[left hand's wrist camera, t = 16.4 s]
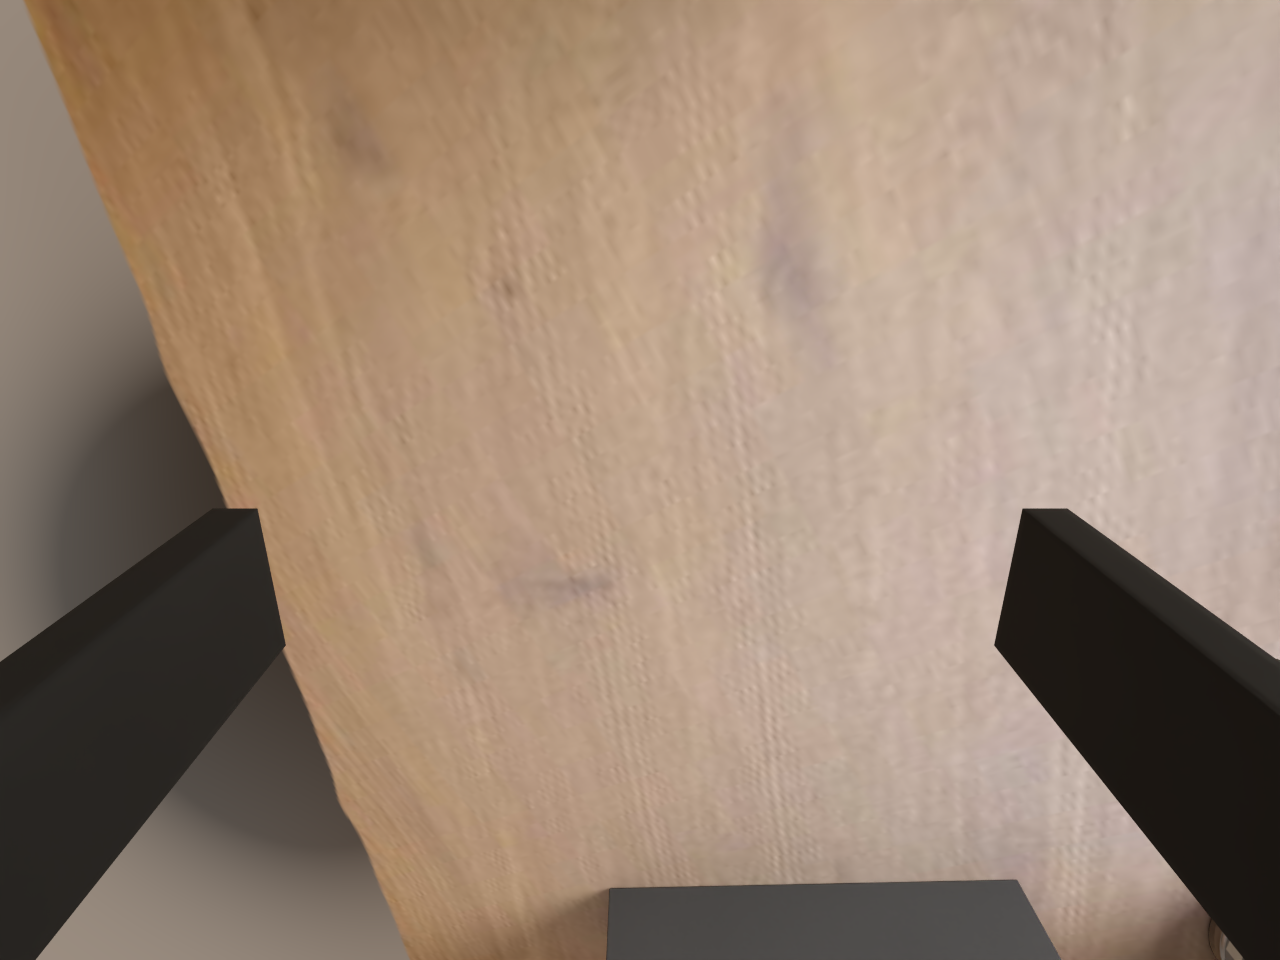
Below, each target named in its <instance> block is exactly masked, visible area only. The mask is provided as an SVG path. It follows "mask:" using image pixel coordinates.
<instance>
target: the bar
mask: <svg viewBox="0 0 1280 960" xmlns="http://www.w3.org/2000/svg"><path fill="white" fill-rule="evenodd" d="M606 960H1061V958H1060V956H1059V955H1058V953H1057V951H1056V949H1055V947H1054V946H1053V944H1052V942H1051V940H1050V938H1049V937H1048V935H1047V933H1046V931H1045V929H1044V928H1043V926H1042V924H1041V922H1040V920H1039V919H1038V917H1037V915H1036V913H1035V911H1034V910H1033V908H1032V906H1031V904H1030V902H1029V901H1028V899H1027V897H1026V895H1025V893H1024V892H1023V890H1022V888H1021V886H1020V884H1019V883H1018V881H1017V880H985V881H938V882H892V883H845V884H798V885H751V886H704V887H657V888H611V889H609V909H608V932H607V955H606Z"/></svg>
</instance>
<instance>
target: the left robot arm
mask: <svg viewBox="0 0 1280 960" xmlns="http://www.w3.org/2000/svg"><path fill="white" fill-rule="evenodd" d="M285 646H286V644H285V639H284V634H283V630H282V625H281V620H280V615H279V610H278V606H277V601H276V596H275V591H274V586H273V582H272V577H271V572H270V567H269V562H268V557H267V553H266V548H265V543H264V538H263V533H262V529H261V524H260V519H259V514H258V509H212V510H210V511H209V512H207V513H206V514H205V515H203V516H202V517H200V518H199V519H198V520H196V521H195V522H193V523H192V524H191V525H189V526H188V527H187V528H185V529H184V530H182V531H181V532H180V533H178V534H177V535H175V536H174V537H173V538H171V539H170V540H169V541H167V542H166V543H164V544H163V545H162V546H160V547H159V548H157V549H156V550H155V551H153V552H152V553H151V554H149V555H148V556H146V557H145V558H144V559H142V560H141V561H140V562H138V563H137V564H135V565H134V566H132V567H131V568H130V569H128V570H127V571H126V572H124V573H123V574H121V575H120V576H119V577H117V578H116V579H114V580H113V581H112V582H110V583H109V584H108V585H106V586H105V587H103V588H102V589H101V590H99V591H98V592H96V593H95V594H94V595H92V596H91V597H90V598H88V599H87V600H85V601H84V602H83V603H81V604H80V605H78V606H77V607H76V608H74V609H73V610H72V611H70V612H69V613H67V614H66V615H65V616H63V617H62V618H60V619H59V620H58V621H56V622H55V623H54V624H52V625H51V626H49V627H48V628H47V629H45V630H44V631H43V632H41V633H40V634H38V635H37V636H36V637H34V638H33V639H31V640H30V641H29V642H27V643H26V644H24V645H23V646H22V647H20V648H19V649H17V650H16V651H15V652H13V653H12V654H11V655H9V656H8V657H6V658H5V659H4V660H2V661H1V662H0V960H36V958H37V957H38V956H39V955H40V953H41V952H42V951H43V950H44V948H45V947H46V946H47V945H48V943H49V942H50V941H51V940H52V938H53V937H54V936H55V934H56V933H57V932H58V931H59V930H60V928H61V927H62V926H63V924H64V923H65V922H66V921H67V919H68V918H69V917H70V916H71V914H72V913H73V912H74V911H75V909H76V908H77V907H78V906H79V904H80V903H81V902H82V901H83V899H84V898H85V897H86V896H87V894H88V893H89V892H90V891H91V889H92V888H93V887H94V886H95V884H96V883H97V882H98V881H99V879H100V878H101V877H102V876H103V874H104V873H105V872H106V870H107V869H108V868H109V867H110V865H111V864H112V863H113V862H114V860H115V859H116V858H117V857H118V855H119V854H120V853H121V852H122V850H123V849H124V848H125V847H126V845H127V844H128V843H129V842H130V840H131V839H132V838H133V837H134V835H135V834H136V833H137V832H138V830H139V829H140V828H141V826H142V825H143V824H144V823H145V821H146V820H147V819H148V818H149V816H150V815H151V814H152V813H153V811H154V810H155V809H156V808H157V806H158V805H159V804H160V803H161V801H162V800H163V799H164V798H165V796H166V795H167V794H168V793H169V791H170V790H171V789H172V788H173V786H174V785H175V784H176V783H177V781H178V780H179V779H180V777H181V776H182V775H183V774H184V772H185V771H186V770H187V769H188V767H189V766H190V765H191V764H192V762H193V761H194V760H195V759H196V757H197V756H198V755H199V754H200V752H201V751H202V750H203V749H204V747H205V746H206V745H207V744H208V742H209V741H210V740H211V739H212V737H213V736H214V735H215V734H216V732H217V731H218V730H219V729H220V727H221V726H222V725H223V723H224V722H225V721H226V720H227V718H228V717H229V716H230V715H231V713H232V712H233V711H234V710H235V708H236V707H237V706H238V705H239V703H240V702H241V701H242V700H243V698H244V697H245V696H246V695H247V693H248V692H249V691H250V690H251V688H252V687H253V686H254V685H255V683H256V682H257V681H258V680H259V678H260V677H261V676H262V675H263V673H264V672H265V671H266V669H267V668H268V667H269V666H270V664H271V663H272V662H273V661H274V659H275V658H276V657H277V656H278V654H279V653H280V652H281V651H282V649H283V648H284V647H285ZM994 646H995V647H996V648H997V649H998V651H999V652H1000V653H1001V654H1002V656H1003V657H1004V658H1005V659H1006V661H1007V662H1008V663H1009V664H1010V666H1011V667H1012V668H1013V669H1014V671H1015V672H1016V673H1017V675H1018V676H1019V677H1020V678H1021V680H1022V681H1023V682H1024V683H1025V685H1026V686H1027V687H1028V688H1029V690H1030V691H1031V692H1032V693H1033V695H1034V696H1035V697H1036V698H1037V700H1038V701H1039V702H1040V703H1041V705H1042V706H1043V707H1044V708H1045V710H1046V711H1047V712H1048V713H1049V715H1050V716H1051V717H1052V718H1053V720H1054V721H1055V722H1056V724H1057V725H1058V726H1059V727H1060V729H1061V730H1062V731H1063V732H1064V734H1065V735H1066V736H1067V737H1068V739H1069V740H1070V741H1071V742H1072V744H1073V745H1074V746H1075V747H1076V749H1077V750H1078V751H1079V752H1080V754H1081V755H1082V756H1083V757H1084V759H1085V760H1086V761H1087V762H1088V764H1089V765H1090V766H1091V767H1092V769H1093V770H1094V771H1095V773H1096V774H1097V775H1098V776H1099V778H1100V779H1101V780H1102V781H1103V783H1104V784H1105V785H1106V786H1107V788H1108V789H1109V790H1110V791H1111V793H1112V794H1113V795H1114V796H1115V798H1116V799H1117V800H1118V801H1119V803H1120V804H1121V805H1122V806H1123V808H1124V809H1125V810H1126V811H1127V813H1128V814H1129V815H1130V816H1131V818H1132V819H1133V820H1134V821H1135V823H1136V824H1137V825H1138V827H1139V828H1140V829H1141V830H1142V832H1143V833H1144V834H1145V835H1146V837H1147V838H1148V839H1149V840H1150V842H1151V843H1152V844H1153V845H1154V847H1155V848H1156V849H1157V850H1158V852H1159V853H1160V854H1161V855H1162V857H1163V858H1164V859H1165V860H1166V862H1167V863H1168V864H1169V865H1170V867H1171V868H1172V869H1173V870H1174V872H1175V873H1176V874H1177V876H1178V877H1179V878H1180V879H1181V881H1182V882H1183V883H1184V884H1185V886H1186V887H1187V888H1188V889H1189V891H1190V892H1191V893H1192V894H1193V896H1194V897H1195V898H1196V899H1197V901H1198V902H1199V903H1200V904H1201V906H1202V907H1203V908H1204V909H1205V911H1206V912H1207V913H1208V914H1209V916H1210V917H1211V918H1212V919H1213V921H1214V922H1215V923H1216V925H1217V926H1218V927H1219V928H1220V930H1221V931H1222V932H1223V933H1224V935H1225V936H1226V937H1227V938H1228V940H1229V941H1230V942H1231V943H1232V945H1233V946H1234V947H1235V948H1236V950H1237V951H1238V952H1239V953H1240V955H1241V956H1242V957H1243V958H1244V960H1280V660H1278V659H1275V658H1274V657H1272V656H1271V655H1269V654H1268V653H1267V652H1265V651H1264V650H1263V649H1261V648H1260V647H1258V646H1257V645H1256V644H1254V643H1253V642H1251V641H1250V640H1249V639H1247V638H1246V637H1245V636H1243V635H1242V634H1240V633H1239V632H1238V631H1236V630H1235V629H1233V628H1232V627H1231V626H1229V625H1228V624H1226V623H1225V622H1224V621H1222V620H1221V619H1220V618H1218V617H1217V616H1215V615H1214V614H1213V613H1211V612H1210V611H1208V610H1207V609H1206V608H1204V607H1203V606H1202V605H1200V604H1199V603H1197V602H1196V601H1195V600H1193V599H1192V598H1190V597H1189V596H1188V595H1186V594H1185V593H1184V592H1182V591H1181V590H1179V589H1178V588H1177V587H1175V586H1174V585H1172V584H1171V583H1170V582H1168V581H1167V580H1166V579H1164V578H1163V577H1161V576H1160V575H1159V574H1157V573H1156V572H1154V571H1153V570H1152V569H1150V568H1149V567H1148V566H1146V565H1145V564H1143V563H1142V562H1141V561H1139V560H1138V559H1136V558H1135V557H1134V556H1132V555H1131V554H1129V553H1128V552H1127V551H1125V550H1124V549H1123V548H1121V547H1120V546H1118V545H1117V544H1116V543H1114V542H1113V541H1111V540H1110V539H1109V538H1107V537H1106V536H1105V535H1103V534H1102V533H1100V532H1099V531H1098V530H1096V529H1095V528H1093V527H1092V526H1091V525H1089V524H1088V523H1087V522H1085V521H1084V520H1082V519H1081V518H1080V517H1078V516H1077V515H1075V514H1074V513H1073V512H1071V511H1070V510H1069V509H1022V514H1021V519H1020V524H1019V529H1018V533H1017V538H1016V543H1015V548H1014V553H1013V557H1012V562H1011V567H1010V572H1009V577H1008V582H1007V586H1006V591H1005V596H1004V601H1003V606H1002V610H1001V615H1000V620H999V625H998V630H997V634H996V639H995V644H994Z"/></svg>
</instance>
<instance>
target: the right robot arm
mask: <svg viewBox="0 0 1280 960" xmlns="http://www.w3.org/2000/svg"><path fill="white" fill-rule="evenodd" d="M1209 942H1210V946H1211V949H1212V951H1213V953H1214V955H1215V957H1216V958H1217V960H1244V958H1243V957H1242V956H1241V955H1240V953H1239V952H1238V951H1237V950H1236V948H1235V947H1234V946H1233V945H1232V943H1231V942H1230V941H1229V940H1228V938H1227V937H1226V936H1225V935H1224V933H1223V932H1222V931H1221V930H1220V928H1219V927H1218V926H1217V925H1216V923H1215V922H1214V921H1213V919H1212V920H1211V923H1210V928H1209Z"/></svg>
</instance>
